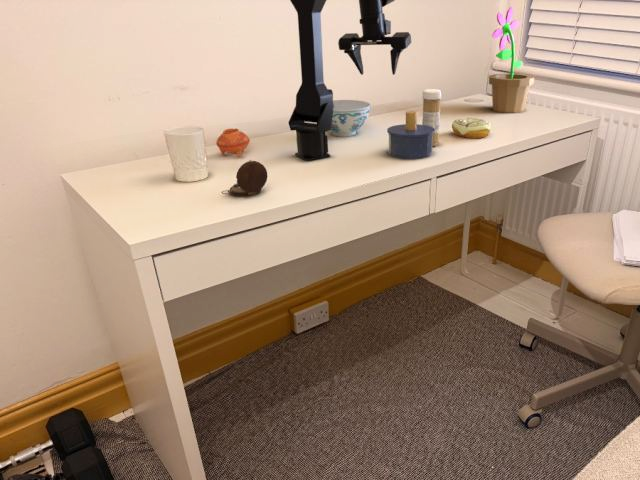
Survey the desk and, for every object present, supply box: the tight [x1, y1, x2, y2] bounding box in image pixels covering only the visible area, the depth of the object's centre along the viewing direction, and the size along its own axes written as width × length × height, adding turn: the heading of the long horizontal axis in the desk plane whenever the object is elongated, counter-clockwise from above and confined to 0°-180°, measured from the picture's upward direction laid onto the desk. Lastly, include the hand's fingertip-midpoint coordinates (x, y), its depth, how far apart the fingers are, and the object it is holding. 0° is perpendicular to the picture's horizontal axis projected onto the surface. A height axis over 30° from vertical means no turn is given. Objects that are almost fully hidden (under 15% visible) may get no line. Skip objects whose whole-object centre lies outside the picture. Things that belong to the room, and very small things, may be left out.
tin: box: [388, 133, 434, 160], centre depth 134 cm, size 10×10×5 cm
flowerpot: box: [488, 6, 535, 114], centre depth 175 cm, size 14×14×30 cm
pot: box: [215, 127, 251, 158], centre depth 134 cm, size 8×8×7 cm
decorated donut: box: [451, 117, 492, 139], centre depth 151 cm, size 10×11×4 cm
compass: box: [221, 159, 268, 197], centre depth 108 cm, size 8×8×7 cm
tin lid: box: [386, 110, 435, 137], centre depth 132 cm, size 11×11×5 cm
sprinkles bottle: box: [421, 88, 442, 147], centre depth 139 cm, size 5×5×13 cm
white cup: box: [163, 125, 209, 183], centre depth 117 cm, size 8×8×10 cm
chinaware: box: [330, 99, 371, 137], centre depth 152 cm, size 15×15×8 cm
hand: (378, 74), depth 151 cm, fingers open, 9 cm apart
